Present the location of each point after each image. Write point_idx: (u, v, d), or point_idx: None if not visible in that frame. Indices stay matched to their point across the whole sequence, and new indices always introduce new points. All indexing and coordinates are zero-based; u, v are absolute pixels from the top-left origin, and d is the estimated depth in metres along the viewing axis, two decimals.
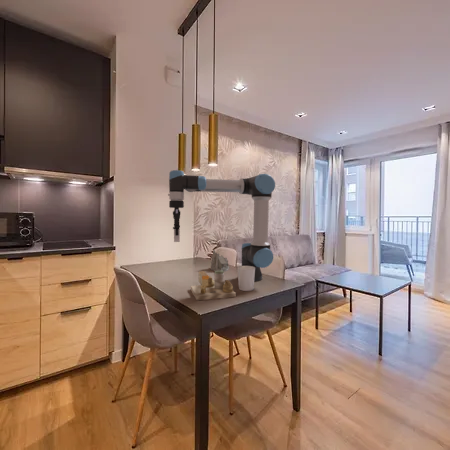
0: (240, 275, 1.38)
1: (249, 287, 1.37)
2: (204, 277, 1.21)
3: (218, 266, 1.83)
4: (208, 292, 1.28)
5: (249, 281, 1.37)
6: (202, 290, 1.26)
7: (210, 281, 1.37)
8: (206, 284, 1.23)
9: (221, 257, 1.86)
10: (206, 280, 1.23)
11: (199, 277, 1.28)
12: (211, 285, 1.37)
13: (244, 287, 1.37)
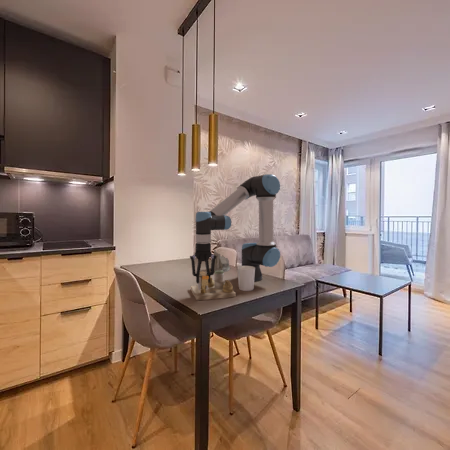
0: (240, 275, 1.38)
1: (249, 287, 1.37)
2: (204, 277, 1.21)
3: (219, 266, 1.83)
4: (208, 292, 1.28)
5: (249, 281, 1.37)
6: (202, 290, 1.26)
7: (210, 281, 1.37)
8: (206, 284, 1.23)
9: (222, 257, 1.86)
10: (206, 280, 1.23)
11: None
12: (211, 285, 1.37)
13: (244, 287, 1.37)
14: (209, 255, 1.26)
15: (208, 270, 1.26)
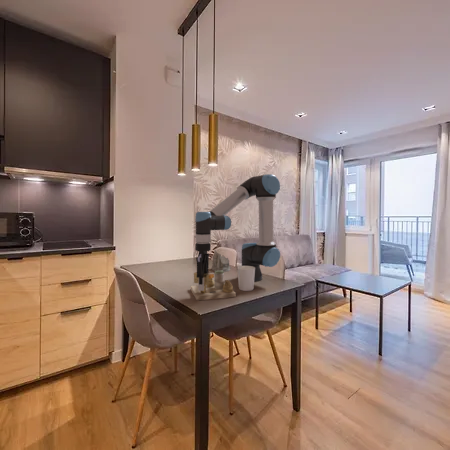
0: (240, 275, 1.38)
1: (249, 287, 1.37)
2: (211, 276, 1.24)
3: (220, 266, 1.83)
4: (208, 292, 1.28)
5: (249, 281, 1.37)
6: (204, 290, 1.26)
7: None
8: (211, 282, 1.25)
9: (222, 257, 1.86)
10: (211, 279, 1.25)
11: None
12: (211, 285, 1.37)
13: (244, 287, 1.37)
14: None
15: (206, 269, 1.29)
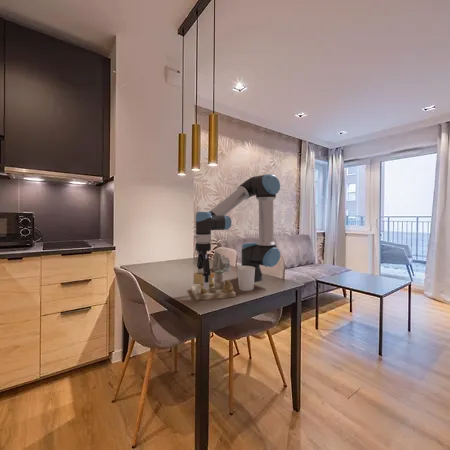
0: (240, 275, 1.38)
1: (249, 287, 1.37)
2: (213, 275, 1.26)
3: (220, 266, 1.83)
4: (208, 292, 1.28)
5: (249, 281, 1.37)
6: (205, 290, 1.26)
7: None
8: None
9: (223, 257, 1.85)
10: None
11: (199, 278, 1.25)
12: (211, 285, 1.37)
13: (244, 287, 1.37)
14: None
15: None
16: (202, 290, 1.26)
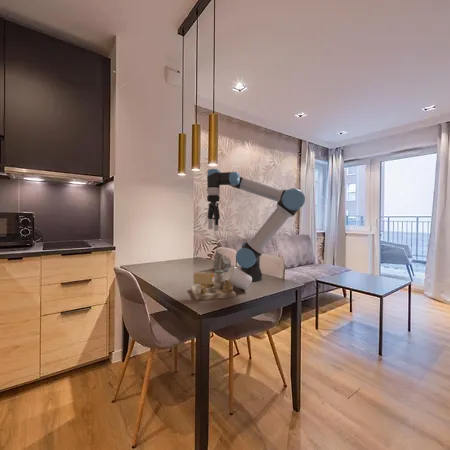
0: (232, 284, 1.35)
1: (247, 283, 1.35)
2: (213, 275, 1.26)
3: (221, 266, 1.82)
4: (208, 292, 1.28)
5: (242, 280, 1.34)
6: (205, 290, 1.26)
7: None
8: None
9: (224, 257, 1.85)
10: None
11: (199, 278, 1.25)
12: (211, 285, 1.37)
13: (244, 287, 1.35)
14: None
15: None
16: (202, 290, 1.26)
